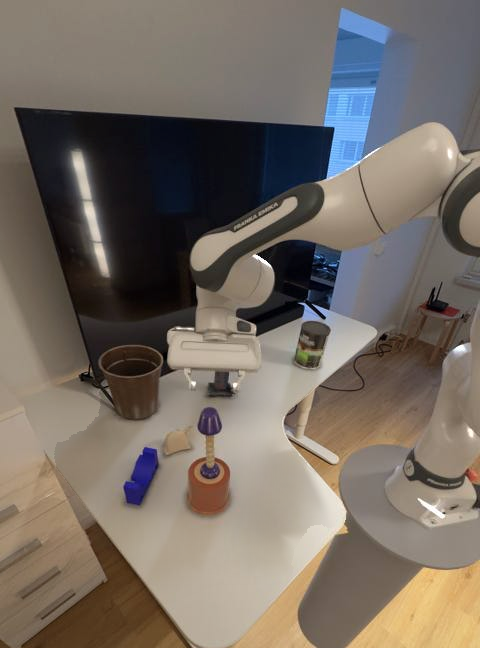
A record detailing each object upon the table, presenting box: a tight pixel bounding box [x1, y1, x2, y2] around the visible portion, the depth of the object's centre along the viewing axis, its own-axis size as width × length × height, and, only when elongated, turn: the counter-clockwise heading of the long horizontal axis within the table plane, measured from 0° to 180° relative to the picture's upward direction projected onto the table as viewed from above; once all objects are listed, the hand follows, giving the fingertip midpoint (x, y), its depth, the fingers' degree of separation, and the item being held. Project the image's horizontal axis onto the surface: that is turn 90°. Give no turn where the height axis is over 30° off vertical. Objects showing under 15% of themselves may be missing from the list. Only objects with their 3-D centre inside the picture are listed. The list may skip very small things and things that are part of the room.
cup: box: [186, 456, 231, 516], centre depth 76 cm, size 10×10×9 cm
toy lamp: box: [196, 406, 223, 479], centre depth 68 cm, size 5×5×17 cm
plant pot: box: [98, 344, 164, 421], centre depth 95 cm, size 16×16×16 cm
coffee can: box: [293, 320, 332, 371], centre depth 123 cm, size 10×10×14 cm
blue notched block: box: [122, 446, 160, 507], centre depth 79 cm, size 12×4×6 cm, turn 170°
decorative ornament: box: [163, 425, 194, 456], centre depth 89 cm, size 4×8×5 cm, turn 115°
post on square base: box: [206, 371, 236, 398], centre depth 106 cm, size 9×8×12 cm
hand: (214, 391), depth 74 cm, fingers open, 8 cm apart
